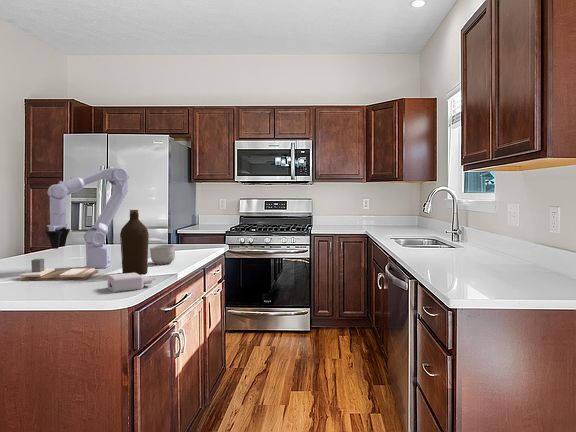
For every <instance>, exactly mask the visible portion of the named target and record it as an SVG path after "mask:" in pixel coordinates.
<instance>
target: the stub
mask: <svg viewBox="0 0 576 432" xmlns="http://www.w3.org/2000/svg"><path fill="white" fill-rule="evenodd" d="M30 264H31V270H28V271H26V272H23V273H20V274H19V276H20V278H24V277H41V276H43V275H45V274H47V273H50V272H52V271H56V268H54V267H52V268H51V267H49V268H47V267H45V258H33V259H31V263H30Z"/></svg>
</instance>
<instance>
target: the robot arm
mask: <svg viewBox="0 0 576 432" xmlns="http://www.w3.org/2000/svg"><path fill="white" fill-rule="evenodd" d="M129 176H130V175H129V174H128V171H127V170H126V169H125V168H124V167H122V166H117V167H109V168H104V169H101V170H99V171H95V172H93V173H91V174H88V175H86V176H84V177H80V176H79V177H78V176H73V175H72V176H70V178H69V179H66V180H63V181H62V180H60V181H58V183H57V184H52V185H50V186H49V187H48V189H47V192H46V193H47V196H48V197H49V223H50V224H47V225H46V227H48V230H45V234H46V235H47V237H48V240H49V242H50V246H51V249H52V250H53V249H54V250H56V249H57V250H58V249H59V247H65V246H66V243H67V238H68V235H69V233H70V231H71V228H68V223H67V222H66V221H67V219H66V218H67V217H66V215H67V214H66V197H67V196H70V195H72V194H74V193H77V192H80V191H82V190H83V189H84V188H85V186H86V185H89V184H92V183H95V182H98V181H102V180H103V181H108V183H110V185H111V187H112V189H113V192H112V194H111V195H110V197H109V199H108V200H107V203H106V204H105V206H104V208H103V209H102V211H101V213H100V215H99V216H98V218H97V220H96V221H95V222H94V224H93V225H91V226H90V229H88V230H87V231H86V232H85V233H84V235H83V239H84V242H86V245H85V261H86V263H85V264H86V265H84V266H83V267H82V269H84V268H95V269H107V268H108V267H110V266H112V264H111V248H110V246H108V245H105V243H106V239H107V234H108V233H109V231H108V230H109V229H108V227H109V226H110V224H111V223H112V222H113V221H112V220H113V219H114V217H115V216H116V213H117V212H118V210H119V208H120V207H121V204H122V202H123V201H124V199H125V197H126V196H127V194H128V190H129V184H128V183H129V181H128V180H129V179H130V177H129Z"/></svg>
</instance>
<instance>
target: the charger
mask: <svg viewBox="0 0 576 432" xmlns="http://www.w3.org/2000/svg"><path fill="white" fill-rule="evenodd" d="M106 277H107V288H108V289H109V290H110V291H112V292H113V293H119V292H120V291H121V292H127V290H130V291H137V290H136V289H139V290H142V289H144V285H150V284H152V282H153V281H157V280H158V279H157V278H155V277H151V276H149V275H146V276H144V275H139V274H137V273H125V274H123V273H119V274H108V275H107V276H106ZM121 292H120V293H121Z"/></svg>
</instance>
